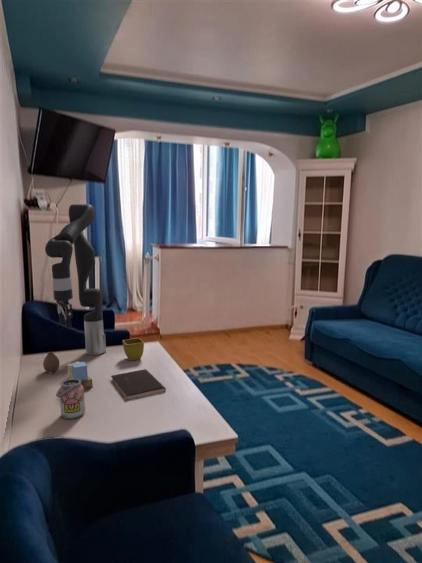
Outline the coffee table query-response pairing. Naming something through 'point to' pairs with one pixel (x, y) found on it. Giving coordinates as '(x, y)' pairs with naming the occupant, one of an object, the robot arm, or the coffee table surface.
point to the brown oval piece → (51, 363)
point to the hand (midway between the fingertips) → (65, 325)
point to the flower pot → (133, 348)
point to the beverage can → (71, 398)
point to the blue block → (79, 371)
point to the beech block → (70, 369)
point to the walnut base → (86, 383)
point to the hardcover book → (137, 384)
